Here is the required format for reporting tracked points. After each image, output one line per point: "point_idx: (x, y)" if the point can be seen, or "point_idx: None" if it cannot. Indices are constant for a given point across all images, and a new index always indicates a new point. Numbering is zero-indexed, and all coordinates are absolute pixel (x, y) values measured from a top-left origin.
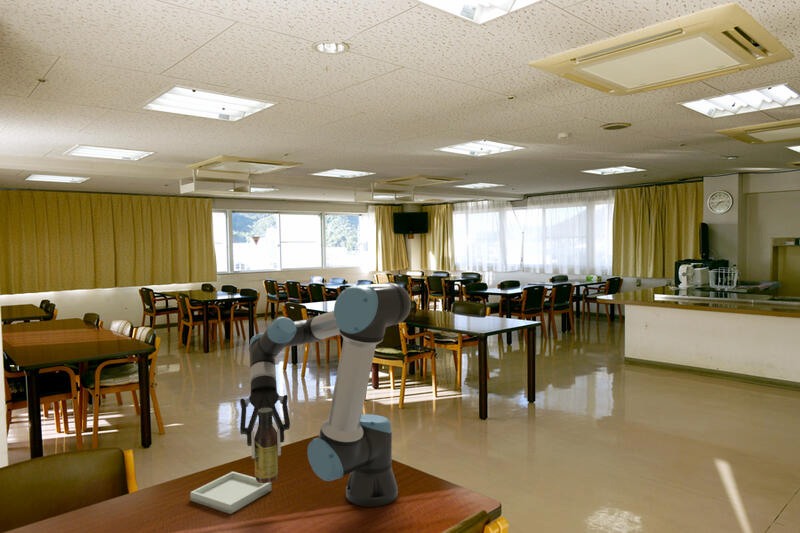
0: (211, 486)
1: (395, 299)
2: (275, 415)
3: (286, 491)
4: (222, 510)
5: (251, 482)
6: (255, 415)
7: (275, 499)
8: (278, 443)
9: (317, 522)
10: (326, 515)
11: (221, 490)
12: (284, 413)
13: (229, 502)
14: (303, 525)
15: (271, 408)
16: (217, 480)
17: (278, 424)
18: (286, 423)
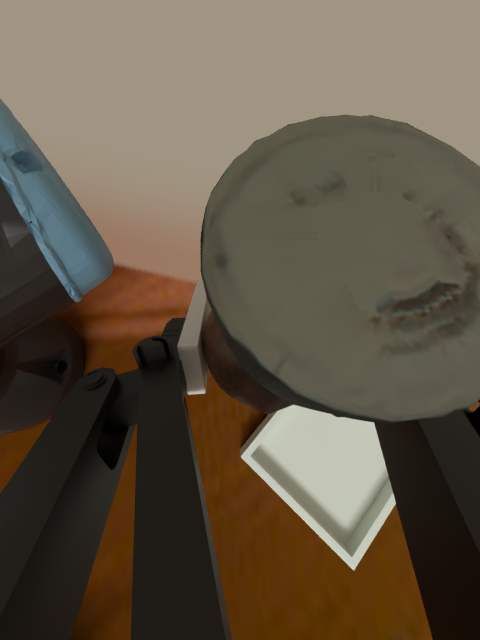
0: (388, 485)
1: None
2: (181, 481)
3: (206, 434)
4: None
5: (290, 492)
6: (465, 499)
7: (231, 398)
8: (202, 295)
9: (159, 287)
10: (139, 307)
11: (357, 462)
12: (43, 516)
13: None
14: (184, 283)
15: (227, 311)
16: (383, 507)
17: (176, 377)
18: (104, 384)
